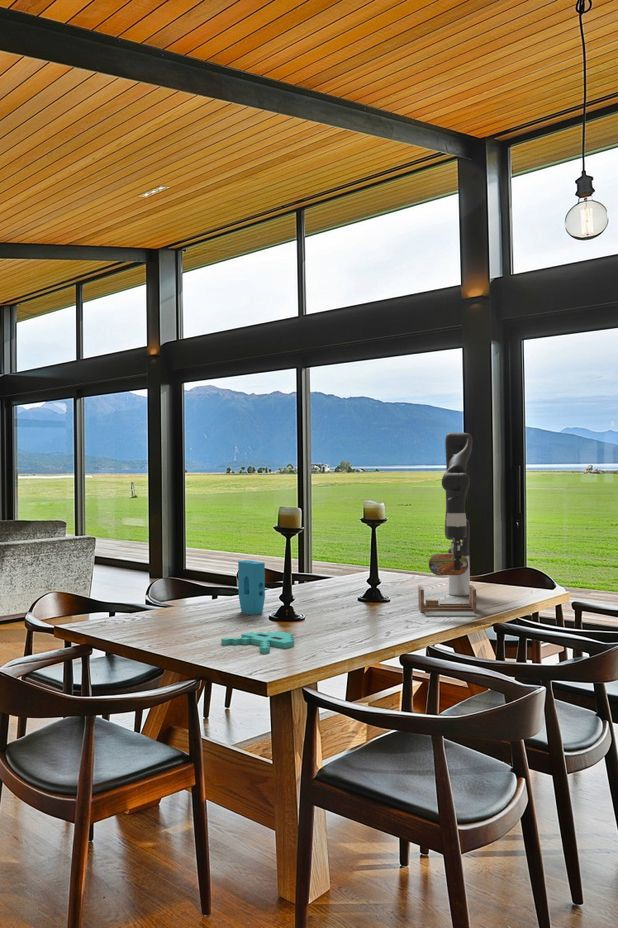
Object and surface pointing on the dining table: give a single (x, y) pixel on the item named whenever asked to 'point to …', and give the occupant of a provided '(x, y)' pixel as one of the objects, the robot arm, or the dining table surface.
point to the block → (251, 586)
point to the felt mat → (450, 614)
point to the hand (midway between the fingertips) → (456, 569)
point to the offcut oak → (431, 602)
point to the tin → (447, 564)
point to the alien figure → (263, 640)
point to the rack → (448, 606)
